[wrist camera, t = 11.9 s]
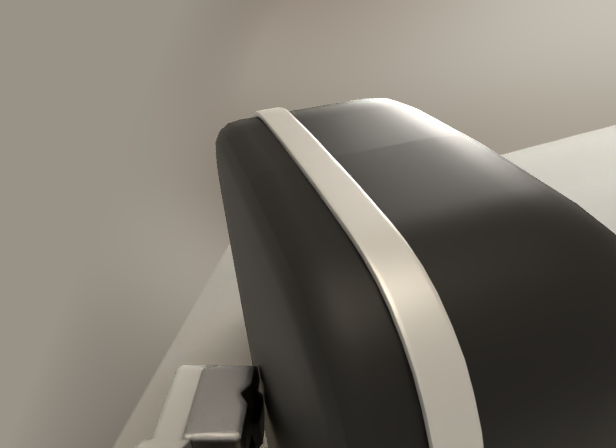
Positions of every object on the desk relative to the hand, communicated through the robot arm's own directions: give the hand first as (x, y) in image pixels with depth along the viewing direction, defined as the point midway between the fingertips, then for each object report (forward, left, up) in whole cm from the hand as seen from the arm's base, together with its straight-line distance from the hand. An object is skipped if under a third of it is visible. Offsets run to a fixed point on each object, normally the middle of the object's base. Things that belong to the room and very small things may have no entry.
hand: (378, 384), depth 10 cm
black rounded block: (0, -1, -6) cm, 6 cm away
